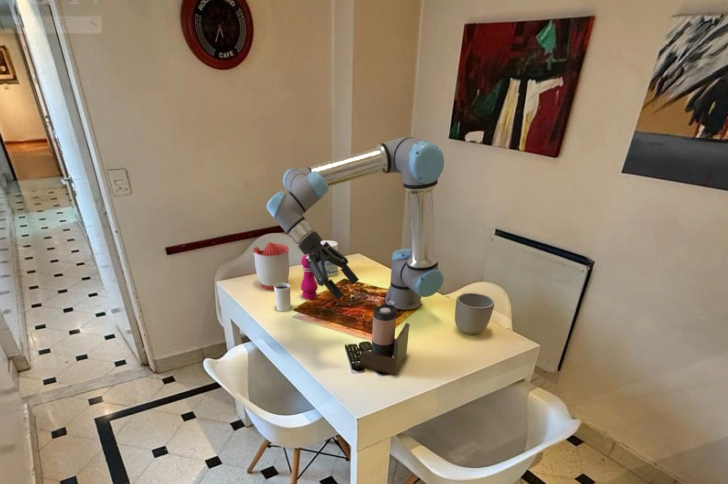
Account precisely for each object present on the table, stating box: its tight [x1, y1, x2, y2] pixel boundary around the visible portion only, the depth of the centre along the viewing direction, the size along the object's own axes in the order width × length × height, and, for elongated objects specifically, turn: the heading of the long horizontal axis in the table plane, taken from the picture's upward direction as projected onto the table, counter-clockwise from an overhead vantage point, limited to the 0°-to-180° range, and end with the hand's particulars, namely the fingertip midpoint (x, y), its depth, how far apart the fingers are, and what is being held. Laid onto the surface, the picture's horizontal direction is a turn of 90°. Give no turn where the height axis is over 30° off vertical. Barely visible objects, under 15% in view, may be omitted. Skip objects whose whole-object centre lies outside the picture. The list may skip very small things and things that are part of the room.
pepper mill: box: [300, 254, 318, 300], centre depth 197 cm, size 7×7×20 cm
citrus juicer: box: [252, 241, 290, 291], centre depth 207 cm, size 16×17×20 cm
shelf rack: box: [359, 322, 411, 376], centre depth 157 cm, size 14×13×13 cm
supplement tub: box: [321, 239, 339, 277], centre depth 221 cm, size 10×10×15 cm
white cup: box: [273, 282, 292, 312], centre depth 190 cm, size 7×7×10 cm
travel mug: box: [371, 303, 398, 358], centre depth 155 cm, size 8×8×20 cm
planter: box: [454, 292, 495, 336], centre depth 175 cm, size 14×14×13 cm
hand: (348, 289), depth 151 cm, fingers open, 13 cm apart
